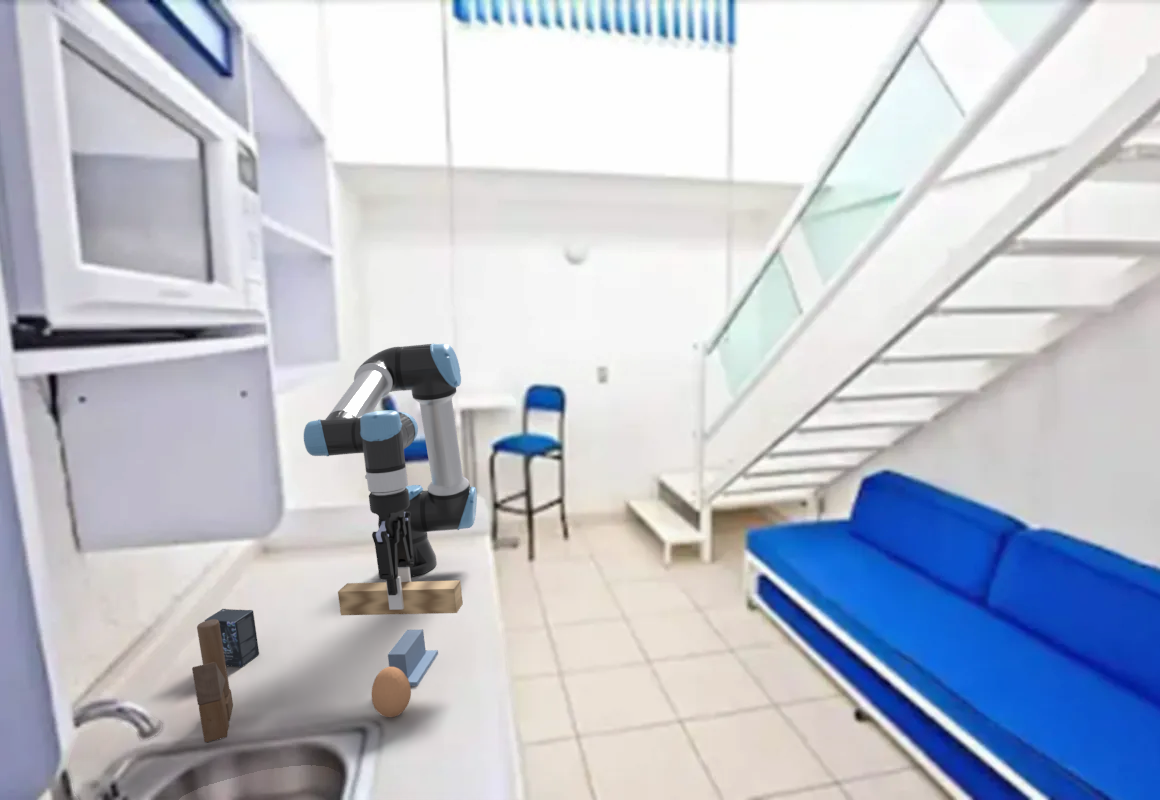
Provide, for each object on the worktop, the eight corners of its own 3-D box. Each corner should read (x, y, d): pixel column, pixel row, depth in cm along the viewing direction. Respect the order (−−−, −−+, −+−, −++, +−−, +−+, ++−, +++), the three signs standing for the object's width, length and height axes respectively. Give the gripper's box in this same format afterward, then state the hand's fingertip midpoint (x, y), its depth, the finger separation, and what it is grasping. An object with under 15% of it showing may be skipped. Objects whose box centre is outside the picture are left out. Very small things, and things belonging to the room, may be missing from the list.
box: (210, 666, 140) (203, 619, 139) (230, 652, 146) (223, 607, 145) (241, 668, 139) (234, 621, 137) (260, 654, 144) (253, 609, 143)
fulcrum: (401, 654, 139) (398, 627, 139) (438, 653, 138) (435, 627, 138) (378, 686, 128) (374, 657, 127) (417, 686, 127) (414, 656, 126)
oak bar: (340, 615, 131) (337, 591, 130) (350, 606, 135) (347, 583, 134) (456, 613, 128) (454, 588, 127) (462, 604, 132) (460, 580, 131)
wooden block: (204, 744, 113) (188, 646, 111) (212, 711, 123) (197, 621, 121) (227, 737, 115) (212, 641, 112) (234, 705, 125) (220, 616, 122)
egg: (367, 717, 118) (361, 670, 117) (399, 699, 123) (394, 654, 121) (387, 731, 113) (381, 683, 112) (420, 711, 118) (415, 665, 117)
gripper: (387, 479, 137) (400, 585, 140) (349, 503, 120) (364, 623, 123) (422, 478, 136) (433, 585, 139) (388, 502, 119) (402, 623, 122)
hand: (401, 603), depth 131 cm, fingers closed on oak bar, 4 cm apart
